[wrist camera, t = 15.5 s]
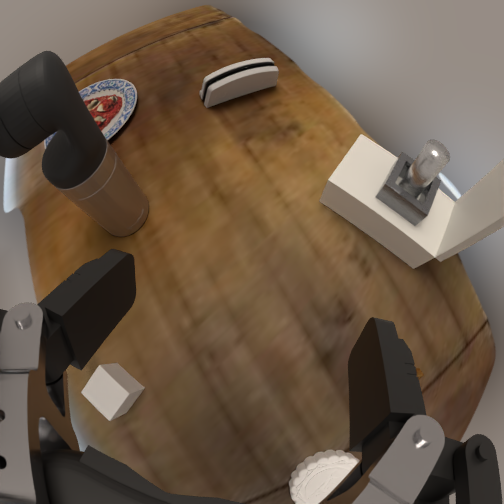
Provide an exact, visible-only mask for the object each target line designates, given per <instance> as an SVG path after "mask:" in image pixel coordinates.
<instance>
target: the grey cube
mask: <svg viewBox="0 0 504 504" xmlns="http://www.w3.org/2000/svg"><path fill="white" fill-rule="evenodd" d="M144 389H145V388H144V387H143V386H142V385H141V384H140V383H139V382H138V381H136V380H135V379H134V378H133V377H132V376H131V375H130V374H129V373H128V372H127V371H125V370H124V369H123V368H122V367H121V366H120V365H119V364H118V363H113V364H103V365H99V366H98V368H97V369H96V371H95V372H94V374H93V375H92V377H91V378H90V380H89V381H88V383H87V384H86V386H85V387H84V389H83V391H82V392H81V393H82V394H83V395H84V396H85V397H86V398H87V399H88V400H89V401H90V402H91V403H92V404H93V405H94V406H95V407H96V408H97V409H98V410H99V411H100V412H101V413H102V414H103V415H104V416H105V417H106V418H107V419H108V420H109V421H111V420H113V419H115V418H117V417H119V416H121V415H123V414H125V413H127V411H128V410H129V409H130V407H131V406H132V405H133V403H134V402H135V401H136V399H137V398H138V397H139V395H140V394H141V393H142V391H143V390H144Z"/></svg>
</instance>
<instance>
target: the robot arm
mask: <svg viewBox="0 0 504 504" xmlns="http://www.w3.org/2000/svg"><path fill="white" fill-rule="evenodd" d="M55 132H57V133H56V134H55V135H54V136H53V138H52V139H51V140H50V142H49V144H48V145H47V147H46V149H45V152H44V155H43V159H42V170H43V173H44V175H45V177H46V178H47V179H48V180H49V181H50V182H51V183H52V184H53V185H54V186H55V187H56V188H57V189H59V190H60V191H61V192H62V193H63V194H64V195H65V196H67V197H68V198H69V199H70V200H71V201H72V202H73V203H75V204H76V205H77V206H78V207H79V208H80V209H82V210H83V211H84V212H85V213H86V214H87V215H89V216H90V217H91V218H92V219H93V220H95V221H96V222H97V223H98V224H99V225H100V226H102V227H103V228H104V229H105V230H107V231H108V232H109V233H110V234H112V235H114V236H118V237H123V236H128V235H130V234H132V233H134V232H135V231H137V230H138V229H139V228H140V227H141V226H142V225H143V223H144V222H145V220H146V218H147V215H148V211H149V204H148V200H147V198H146V196H145V195H144V193H143V192H142V190H141V189H140V188H139V186H138V184H137V183H136V182H135V180H134V179H133V177H132V176H131V174H130V173H129V172H128V170H127V169H126V167H125V166H124V164H123V163H122V161H121V160H120V158H119V157H118V155H117V154H116V152H115V151H114V149H113V148H112V147H111V145H110V144H109V142H108V141H107V139H106V138H105V136H104V135H103V133H102V132H101V130H100V128H99V127H98V125H97V123H96V121H95V120H94V118H93V116H92V115H91V113H90V111H89V110H88V108H87V106H86V105H85V103H84V101H83V99H82V97H81V95H80V94H79V92H78V90H77V88H76V85H75V83H74V81H73V79H72V77H71V75H70V73H69V71H68V70H67V68H66V66H65V65H64V63H63V62H62V60H61V59H60V58H59V57H58V56H57V55H56V54H55V53H53V52H51V51H44V52H42V53H40V54H38V55H36V56H35V57H33V58H32V59H30V60H29V61H28V62H26V63H25V64H23V65H22V66H21V67H19V68H18V69H17V70H16V71H14V72H13V73H12V74H10V75H9V76H8V77H7V78H5V79H4V80H3V81H2V82H1V83H0V156H2V157H5V158H16V157H19V156H21V155H23V154H25V153H27V152H28V151H30V150H31V149H32V148H34V147H35V146H37V145H38V144H39V143H41V142H42V141H44V140H45V139H46V138H48V137H49V136H51V135H52V134H54V133H55ZM135 296H136V282H135V265H134V257H133V255H132V254H129V253H126V252H122V251H119V250H116V249H111V250H109V251H108V252H107V253H105V254H104V255H103V256H102V257H101V258H99V259H95V260H92V261H90V262H88V263H85V264H84V265H82V266H81V267H80V268H79V269H78V270H76V271H75V273H74V274H72V275H70V276H69V277H68V278H67V280H66V281H63V282H62V283H61V284H60V285H59V286H58V287H57V288H55V289H54V290H53V291H52V292H51V293H50V294H49V295H48V296H46V297H45V298H44V299H43V300H42V301H41V302H40V303H39V304H38V305H36V304H34V303H21V304H18V305H16V306H14V307H12V308H11V309H10V310H9V311H6V310H1V309H0V504H243V503H239V502H234V501H230V500H225V499H221V498H212V497H196V496H185V495H176V494H170V493H167V492H164V491H162V490H161V489H159V488H158V487H156V486H155V485H153V484H152V483H150V482H149V481H148V480H146V479H145V478H143V477H142V476H140V475H139V474H138V473H136V472H135V471H134V470H132V469H131V468H130V467H128V466H127V465H125V464H123V463H121V462H119V461H117V460H115V459H113V458H111V457H109V456H107V455H105V454H103V453H101V452H100V451H98V450H96V449H94V448H92V447H90V446H89V445H88V447H87V448H86V450H85V452H82V451H80V449H79V444H78V441H77V438H76V435H75V432H74V430H73V427H72V424H71V418H70V409H69V397H68V382H67V372H66V369H67V367H68V366H69V365H70V364H71V365H72V366H74V367H76V368H78V369H79V370H82V369H83V368H84V366H85V365H86V364H87V362H88V361H89V360H90V358H91V357H92V356H93V355H94V353H95V352H96V351H97V349H98V348H99V347H100V346H101V344H102V343H103V342H104V340H105V339H106V338H107V337H108V335H109V334H110V333H111V332H112V330H113V329H114V328H115V327H116V325H117V324H118V323H119V322H120V320H121V319H122V318H123V317H124V315H125V314H126V313H127V312H128V311H129V309H130V308H131V307H132V305H133V303H134V300H135ZM348 378H349V407H350V451H356V452H362V460H360V461H359V462H358V463H357V464H356V465H355V467H354V468H353V469H352V470H351V471H350V472H349V473H348V474H347V476H346V477H345V478H344V479H343V480H342V481H341V482H340V483H339V484H338V485H337V486H336V487H335V488H334V489H333V490H332V491H331V492H330V493H329V494H328V495H327V496H326V497H325V498H324V499H323V500H322V501H321V502H320V503H319V504H449V495H451V494H453V493H455V492H456V504H502V494H501V483H500V475H499V468H498V461H497V455H496V450H495V447H494V445H493V443H492V442H491V440H490V439H488V438H487V437H486V436H484V435H481V434H476V435H474V436H472V437H471V438H469V439H468V440H467V441H466V442H464V443H462V442H459V441H456V440H453V439H450V438H447V437H444V432H443V430H442V428H441V426H440V425H439V424H438V422H437V421H435V420H434V419H433V418H431V417H429V416H427V415H426V411H425V406H424V401H423V397H422V392H421V388H420V384H419V379H418V377H417V371H416V368H415V366H414V360H413V356H412V353H411V350H410V349H409V348H408V346H407V345H406V343H405V342H404V340H403V339H398V335H397V332H396V328H395V325H394V323H393V322H392V321H387V320H382V319H378V318H373V317H372V318H370V319H369V320H368V322H367V324H366V326H365V327H364V329H363V331H362V333H361V335H360V337H359V338H358V340H357V342H356V344H355V346H354V347H353V349H352V351H351V354H350V357H349V361H348Z"/></svg>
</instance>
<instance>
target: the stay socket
mask: <svg viewBox="0 0 504 504" xmlns="http://www.w3.org/2000/svg"><path fill="white" fill-rule="evenodd" d="M414 161H415V160H413V159H412V158H410V157H409V156H408V155H406V154H405V153H403V152H401V154H400V155H399V157H398V158H397V160H396V161H395V163H394V164H393V166H392V168H391V169H390V171H389V173H388V175H387V177H386V179H385V180H384V182H383V184H382V186H381V188H380V189H379V191H378V193H377V195H376V198H377V199H379V200H380V201H382V202H383V203H384V204H386V205H387V206H389V207H390V208H391V209H393V210H394V211H395V212H397V213H398V214H399V215H401V216H402V217H403V218H405V219H406V220H407V221H409V222H410V223H411V224H413V225H414V226H416V225H417V224H418V223H420V222H421V221H422V220H423V219H424V218H426V217H427V216H428V214H429V211H430V209H431V206H432V204H433V201H434V198H435V196H436V193H437V190H438V187H439V185H440V182H441V180H439V179H438V178H437V177H435V178H434V179H433V181H432V182H431V183H430V184H429V185H428V186H427V187H426V189H425V190H424V191H423V192H422V193H421V196H420V198H419V200H417V199H416V198H414V197H413V196H412V195H411V194H409V193H408V192H407V191H405V190H404V189H402V188H401V187H400V186H398V185H397V184H396V183H395V182H396V180H397V178H398V176H399V177H401V178H403V177H404V175H405V174H406V172H407V171H408V169H409V168H410V167H411V165H412V164H413V162H414Z"/></svg>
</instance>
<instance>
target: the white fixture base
mask: <svg viewBox="0 0 504 504" xmlns="http://www.w3.org/2000/svg"><path fill="white" fill-rule="evenodd" d="M396 160H397V157H395V156H394V155H393V154H391V153H390V152H388V151H387V150H385V149H384V148H382V147H381V146H379V145H378V144H376V143H374V142H373V141H371V140H370V139H368V138H367V137H365V136H363V135H362V134H361V135H360V136H359V138H358V139H357V140H356V142H355V143H354V145H353V146H352V147H351V149H350V150H349V152H348V153H347V154H346V156H345V157H344V159H343V160H342V161H341V163H340V164H339V166H338V167H337V168H336V170H335V171H334V173H333V174H332V175H331V177H330V178H329V180H328V182H327V184H326V187H325V189H324V191H323V194H322V196H321V198H320V201H319V202H321V203H323V204H324V205H326V206H327V207H329V208H330V209H332V210H333V211H335V212H336V213H337V214H339V215H340V216H342V217H343V218H345V219H346V220H348V221H349V222H351V223H352V224H353V225H355V226H356V227H358V228H359V229H361V230H362V231H363V232H365V233H366V234H368V235H369V236H370V237H372V238H373V239H375V240H376V241H377V242H379V243H380V244H381V245H383V246H384V247H385V248H387V249H388V250H389V251H391V252H392V253H393V254H395V255H396V256H397V257H399V258H400V259H401V260H403V261H404V262H405V263H407V264H408V265H409V266H410V267H412V268H413V269H415V268H416V267H418V266H420V265H422V264H424V263H426V262H428V261H429V260H431V259H433V258H436V259H437V260H439V261H440V262H441V261H443V260H445V259H447V258H449V257H451V256H453V255H455V254H457V253H458V252H460V251H462V250H464V249H466V248H468V247H469V246H471V245H473V244H475V243H477V242H478V241H480V240H482V239H483V238H485V237H487V236H489V235H490V234H492V233H494V232H496V231H497V230H499V229H501V228H502V227H504V159H503V160H502V161H501V162H500V163H499V164H498V165H496V166H495V167H494V168H493V169H492V170H491V171H490V172H489V173H488V174H487V175H485V176H484V177H483V178H482V179H481V180H480V181H479V182H478V183H476V185H474V186H473V187H472V188H471V189H470V190H468V191H467V192H466V193H465V194H464V195H463V196H461V197H460V198H459V199H458V200H457V201H456V202H454V201H453V200H452V199H450V198H449V197H448V196H447V195H446V194H444V193H443V192H442V191H441V190H440V189H438V190H437V193H436V196H435V198H434V201H433V204H432V206H431V209H430V211H429V214H428V216H427V217H426V218H424V219H423V220H422V221H421V222H420V223H418V224H417V225H416V226H414V225H413V224H411V223H410V222H409V221H407V220H406V219H405V218H403V217H402V216H401V215H399V214H398V213H397V212H395V211H394V210H393V209H391V208H390V207H389V206H387V205H386V204H384V203H383V202H382V201H380V200H379V199H377V198H376V195H377V193H378V191H379V189H380V188H381V186H382V184H383V182H384V180H385V179H386V177H387V175H388V173H389V171H390V169H391V168H392V166H393V164H394V163H395V161H396ZM401 179H402V178H401V177H399V176H398V178H397V180H396V182H395V183H396V184H397V185H398V184H399V182H400V181H401ZM420 196H421V194H420V195H419V196H418V198H417V200H419V198H420Z"/></svg>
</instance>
